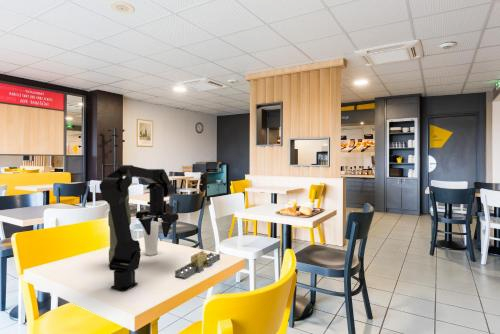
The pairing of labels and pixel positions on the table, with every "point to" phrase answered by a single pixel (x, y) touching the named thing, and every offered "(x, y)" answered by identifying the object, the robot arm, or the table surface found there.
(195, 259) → the link
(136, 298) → the table surface
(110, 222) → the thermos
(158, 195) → the robot arm
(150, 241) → the drinking glass
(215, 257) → the chain end
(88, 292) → the table surface
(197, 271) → the chain end
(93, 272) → the table surface
